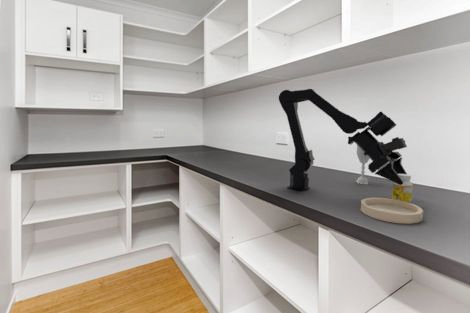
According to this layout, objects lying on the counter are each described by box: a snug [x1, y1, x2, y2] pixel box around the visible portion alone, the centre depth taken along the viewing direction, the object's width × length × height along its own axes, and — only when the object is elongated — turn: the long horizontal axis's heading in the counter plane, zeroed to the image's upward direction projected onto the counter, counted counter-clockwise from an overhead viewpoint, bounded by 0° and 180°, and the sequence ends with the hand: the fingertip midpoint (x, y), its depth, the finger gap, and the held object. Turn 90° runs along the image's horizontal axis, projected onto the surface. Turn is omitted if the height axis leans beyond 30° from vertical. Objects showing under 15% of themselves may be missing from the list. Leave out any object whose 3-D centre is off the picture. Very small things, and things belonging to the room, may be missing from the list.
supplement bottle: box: [391, 174, 414, 204], centre depth 81 cm, size 5×5×10 cm
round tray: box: [360, 197, 424, 225], centre depth 72 cm, size 15×15×2 cm
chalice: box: [355, 144, 371, 185], centre depth 109 cm, size 7×7×18 cm
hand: (405, 181), depth 80 cm, fingers open, 9 cm apart
